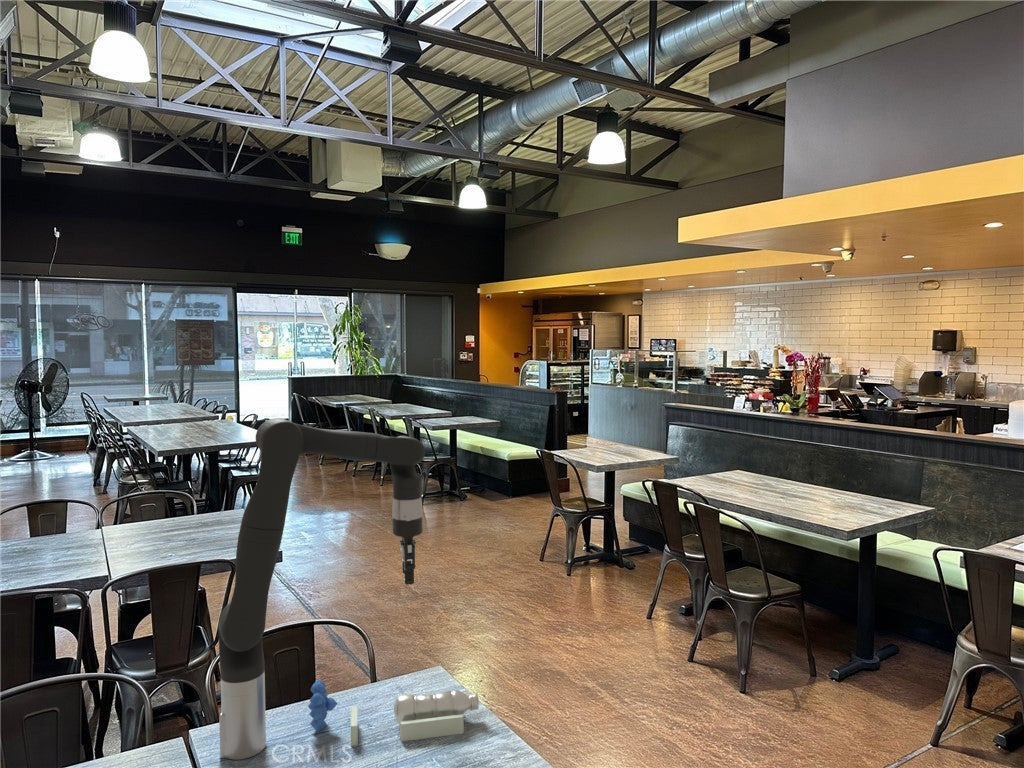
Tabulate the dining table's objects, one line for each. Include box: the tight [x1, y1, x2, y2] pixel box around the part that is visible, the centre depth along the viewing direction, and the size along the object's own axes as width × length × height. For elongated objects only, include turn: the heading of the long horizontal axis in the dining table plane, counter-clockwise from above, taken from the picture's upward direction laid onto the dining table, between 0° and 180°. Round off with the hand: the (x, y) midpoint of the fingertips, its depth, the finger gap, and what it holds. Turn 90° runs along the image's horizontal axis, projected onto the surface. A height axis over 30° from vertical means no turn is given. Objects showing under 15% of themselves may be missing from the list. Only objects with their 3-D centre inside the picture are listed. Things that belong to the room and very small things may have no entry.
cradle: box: [398, 714, 465, 742], centre depth 163 cm, size 14×11×4 cm
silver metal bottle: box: [393, 689, 480, 724], centre depth 164 cm, size 6×7×20 cm
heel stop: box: [350, 705, 359, 746], centre depth 159 cm, size 2×9×4 cm, turn 13°
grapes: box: [307, 679, 338, 732], centre depth 161 cm, size 12×7×12 cm, turn 11°
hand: (408, 578), depth 173 cm, fingers open, 8 cm apart
